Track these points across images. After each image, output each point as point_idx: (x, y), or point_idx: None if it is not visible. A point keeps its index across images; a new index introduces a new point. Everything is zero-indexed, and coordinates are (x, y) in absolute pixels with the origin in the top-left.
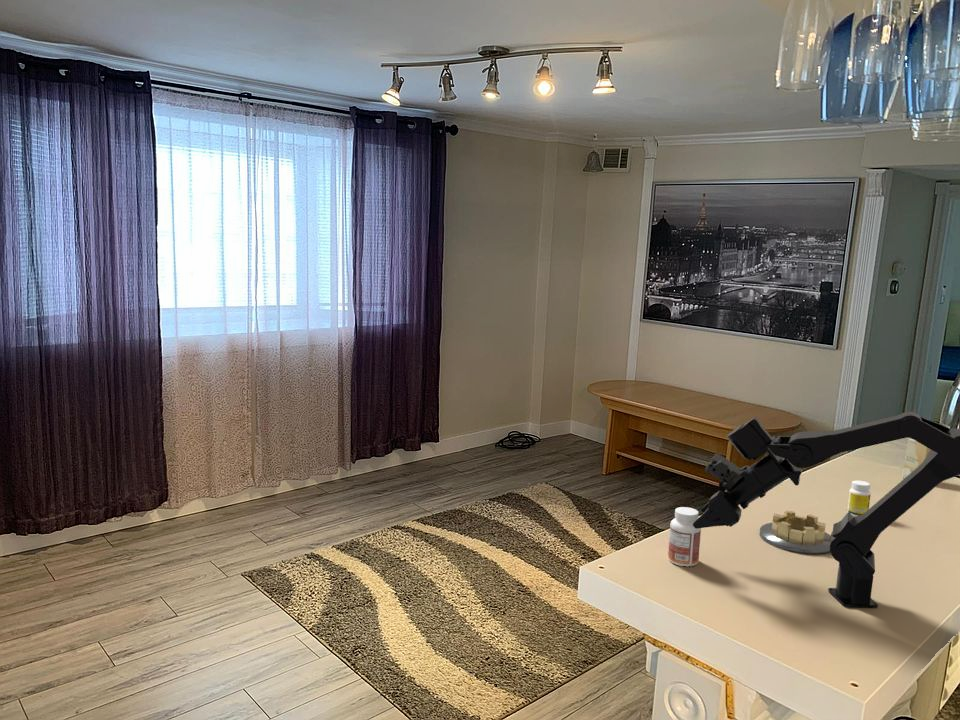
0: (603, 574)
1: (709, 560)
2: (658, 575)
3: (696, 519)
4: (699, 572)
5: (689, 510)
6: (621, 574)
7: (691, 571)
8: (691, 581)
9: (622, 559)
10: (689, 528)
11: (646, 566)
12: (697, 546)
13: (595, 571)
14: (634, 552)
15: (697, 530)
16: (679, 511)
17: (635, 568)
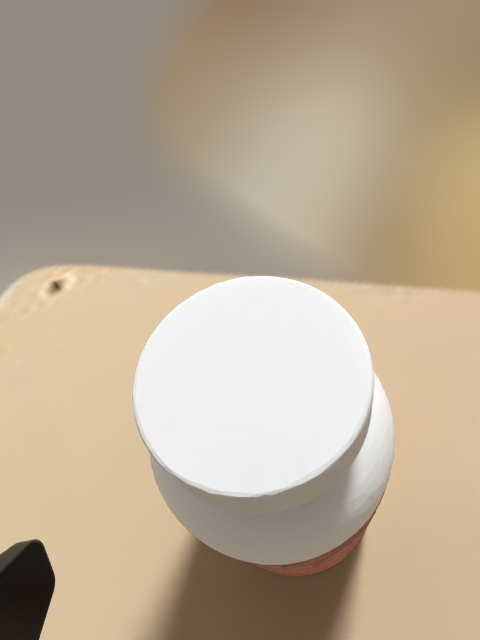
0: (7, 314)
1: (419, 618)
2: (79, 460)
3: (231, 509)
4: (216, 624)
5: (279, 383)
6: (29, 353)
7: (202, 577)
8: (86, 625)
9: (149, 300)
10: (163, 490)
11: None
12: (264, 568)
13: (19, 289)
14: None
15: (225, 552)
16: (186, 326)
17: (99, 364)
